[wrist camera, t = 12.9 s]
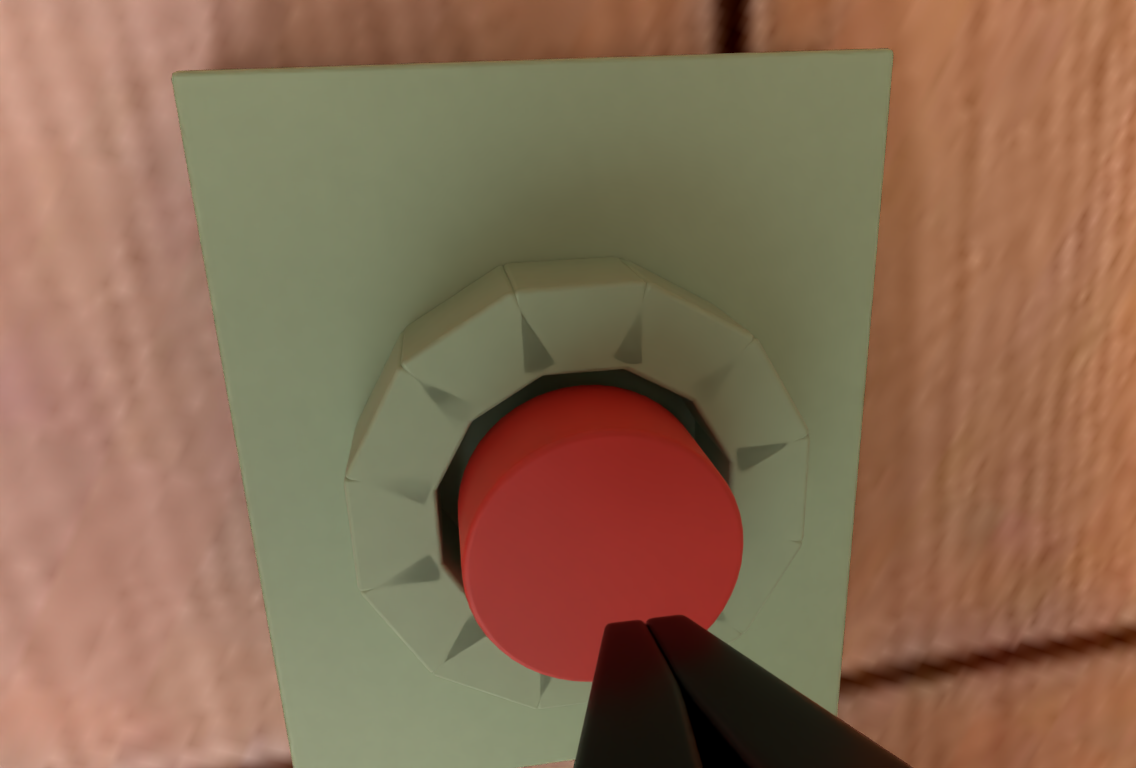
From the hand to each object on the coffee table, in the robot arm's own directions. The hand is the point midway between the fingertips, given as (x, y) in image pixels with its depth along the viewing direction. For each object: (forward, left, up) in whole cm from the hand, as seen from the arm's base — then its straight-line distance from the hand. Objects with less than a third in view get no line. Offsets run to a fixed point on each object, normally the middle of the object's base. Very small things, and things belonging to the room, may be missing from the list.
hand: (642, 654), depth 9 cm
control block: (0, 0, -7) cm, 7 cm away
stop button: (0, 0, -3) cm, 3 cm away
